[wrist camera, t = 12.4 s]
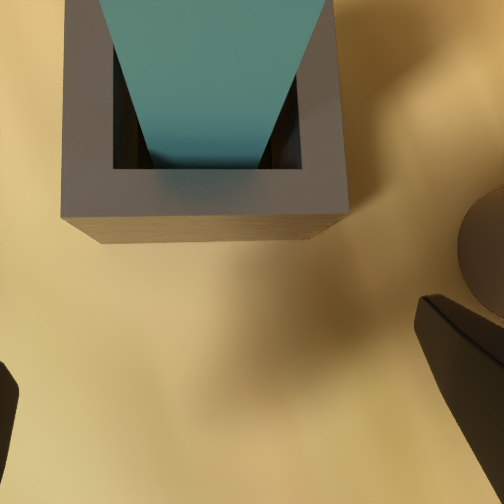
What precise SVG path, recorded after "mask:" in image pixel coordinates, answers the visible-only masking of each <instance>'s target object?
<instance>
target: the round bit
mask: <svg viewBox="0 0 504 504" xmlns="http://www.w3.org/2000/svg"><path fill="white" fill-rule="evenodd" d="M458 259H459V264H460V268H461V271H462V274H463V277H464V279H465V281H466V283H467V285H468V287H469V288H470V290H471V292H472V293H473V294H474V296H475V297H476V298H477V299H478V301H480V302H481V303H482V304H483V305H484V306H485V307H486V308H487V309H489V310H490V311H491V312H493V313H494V314H496V315H498V316H500V317H502V318H504V188H501V189H499V190H496V191H494V192H492V193H489V194H487V195H485V196H484V197H482V198H481V199H480V200H478V201H477V202H476V203H475V204H474V205H473V206H472V207H471V209H470V210H469V211H468V213H467V214H466V216H465V218H464V220H463V222H462V225H461V228H460V232H459V237H458Z"/></svg>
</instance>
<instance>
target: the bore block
mask: <svg viewBox="0 0 504 504" xmlns="http://www.w3.org/2000/svg"><path fill="white" fill-rule="evenodd" d="M271 153H272V169H138V135H137V114H136V111H135V108H134V105H133V102H132V99H131V96H130V93H129V90H128V87H127V84H126V81H125V78H124V75H123V72H122V68H121V65H120V62H119V59H118V56H117V53H116V50H115V47H114V44H113V41H112V38H111V35H110V32H109V29H108V26H107V23H106V20H105V17H104V14H103V11H102V8H101V5H100V2H99V0H65V20H64V70H63V120H62V169H61V218H62V219H63V220H65V221H67V222H68V223H70V224H71V225H73V226H74V227H76V228H77V229H79V230H81V231H82V232H84V233H85V234H87V235H88V236H90V237H91V238H93V239H95V240H96V241H98V242H99V243H101V244H126V243H169V242H212V241H255V240H298V239H310V238H311V237H313V236H315V235H316V234H318V233H319V232H321V231H323V230H324V229H326V228H327V227H329V226H331V225H332V224H334V223H335V222H337V221H338V220H340V219H342V218H343V217H345V216H346V215H348V214H350V211H349V199H348V186H347V174H346V161H345V148H344V136H343V123H342V111H341V98H340V86H339V73H338V60H337V48H336V35H335V23H334V10H333V0H326V1H325V3H324V6H323V8H322V10H321V13H320V15H319V18H318V20H317V23H316V25H315V28H314V30H313V32H312V35H311V37H310V40H309V42H308V45H307V47H306V50H305V52H304V54H303V57H302V59H301V62H300V64H299V67H298V69H297V72H296V74H295V77H294V79H293V81H292V84H291V86H290V89H289V91H288V94H287V96H286V99H285V101H284V103H283V106H282V108H281V111H280V113H279V116H278V118H277V121H276V123H275V125H274V128H273V130H272V133H271Z"/></svg>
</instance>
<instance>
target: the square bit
mask: <svg viewBox="0 0 504 504" xmlns="http://www.w3.org/2000/svg"><path fill="white" fill-rule="evenodd" d="M325 1H326V0H99V2H100V5H101V8H102V11H103V14H104V17H105V20H106V23H107V26H108V29H109V32H110V35H111V38H112V41H113V44H114V47H115V50H116V53H117V56H118V59H119V62H120V65H121V68H122V72H123V75H124V78H125V81H126V84H127V87H128V90H129V93H130V96H131V99H132V102H133V105H134V108H135V111H136V114H137V117H138V120H139V123H140V126H141V129H142V132H143V135H144V138H145V142H146V145H147V148H148V151H149V154H150V157H151V160H152V163H153V166H154V169H257V167H258V165H259V162H260V160H261V157H262V155H263V152H264V150H265V147H266V145H267V143H268V140H269V138H270V135H271V133H272V130H273V128H274V125H275V123H276V121H277V118H278V116H279V113H280V111H281V108H282V106H283V103H284V101H285V99H286V96H287V94H288V91H289V89H290V86H291V84H292V81H293V79H294V77H295V74H296V72H297V69H298V67H299V64H300V62H301V59H302V57H303V54H304V52H305V50H306V47H307V45H308V42H309V40H310V37H311V35H312V32H313V30H314V28H315V25H316V23H317V20H318V18H319V15H320V13H321V10H322V8H323V6H324V3H325Z"/></svg>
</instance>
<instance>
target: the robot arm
mask: <svg viewBox="0 0 504 504" xmlns="http://www.w3.org/2000/svg"><path fill="white" fill-rule="evenodd" d="M414 329H415V333H416V335H417V338H418V340H419V342H420V345H421V347H422V350H423V352H424V354H425V357H426V359H427V362H428V364H429V366H430V369H431V371H432V373H433V376H434V378H435V381H436V383H437V385H438V387H439V390H440V392H441V394H442V396H443V398H444V400H445V402H446V404H447V406H448V407H449V409H450V411H451V413H452V415H453V416H454V418H455V420H456V422H457V424H458V425H459V427H460V429H461V431H462V433H463V435H464V436H465V438H466V440H467V442H468V444H469V445H470V447H471V449H472V451H473V453H474V454H475V456H476V458H477V460H478V462H479V463H480V465H481V467H482V469H483V471H484V472H485V474H486V476H487V478H488V480H489V481H490V483H491V485H492V487H493V489H494V490H495V492H496V494H497V496H498V498H499V500H500V501H501V503H502V504H504V328H502V327H500V326H498V325H496V324H495V323H493V322H491V321H489V320H487V319H485V318H484V317H482V316H480V315H478V314H476V313H474V312H473V311H471V310H469V309H467V308H465V307H464V306H462V305H460V304H458V303H456V302H454V301H453V300H451V299H449V298H447V297H445V296H443V295H441V294H431V295H425V296H422V297H420V299H419V301H418V306H417V310H416V315H415V320H414ZM18 399H19V387H18V384H17V382H16V381H15V379H14V378H13V376H12V375H11V373H10V372H9V370H8V369H7V367H6V366H5V364H4V363H3V362H1V361H0V483H1V480H2V476H3V473H4V469H5V465H6V460H7V456H8V451H9V446H10V440H11V435H12V430H13V425H14V419H15V414H16V409H17V404H18Z"/></svg>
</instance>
